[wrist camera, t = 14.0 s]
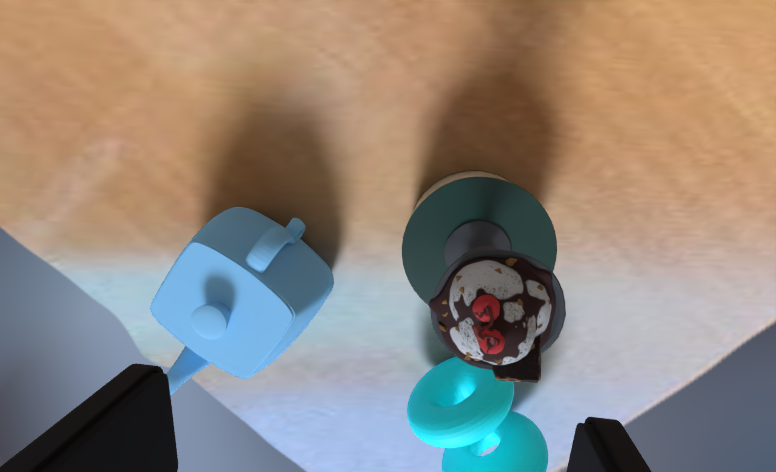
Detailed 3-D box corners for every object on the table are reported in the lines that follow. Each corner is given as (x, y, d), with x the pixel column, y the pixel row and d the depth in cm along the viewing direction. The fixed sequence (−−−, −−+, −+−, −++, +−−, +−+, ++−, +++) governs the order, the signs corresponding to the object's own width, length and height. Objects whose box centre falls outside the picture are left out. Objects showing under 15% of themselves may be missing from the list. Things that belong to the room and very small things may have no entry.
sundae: (441, 201, 29) (445, 271, 15) (533, 219, 29) (630, 309, 14) (424, 283, 31) (412, 417, 17) (510, 301, 30) (574, 455, 16)
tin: (413, 163, 36) (407, 171, 29) (544, 172, 34) (569, 183, 28) (404, 282, 39) (397, 314, 32) (524, 294, 37) (543, 330, 31)
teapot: (173, 306, 42) (81, 367, 31) (259, 172, 37) (184, 190, 26) (267, 374, 43) (209, 457, 32) (363, 251, 38) (333, 300, 27)
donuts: (496, 333, 39) (515, 400, 29) (538, 414, 40) (569, 502, 31) (405, 370, 41) (396, 443, 31) (449, 444, 43) (452, 535, 33)
